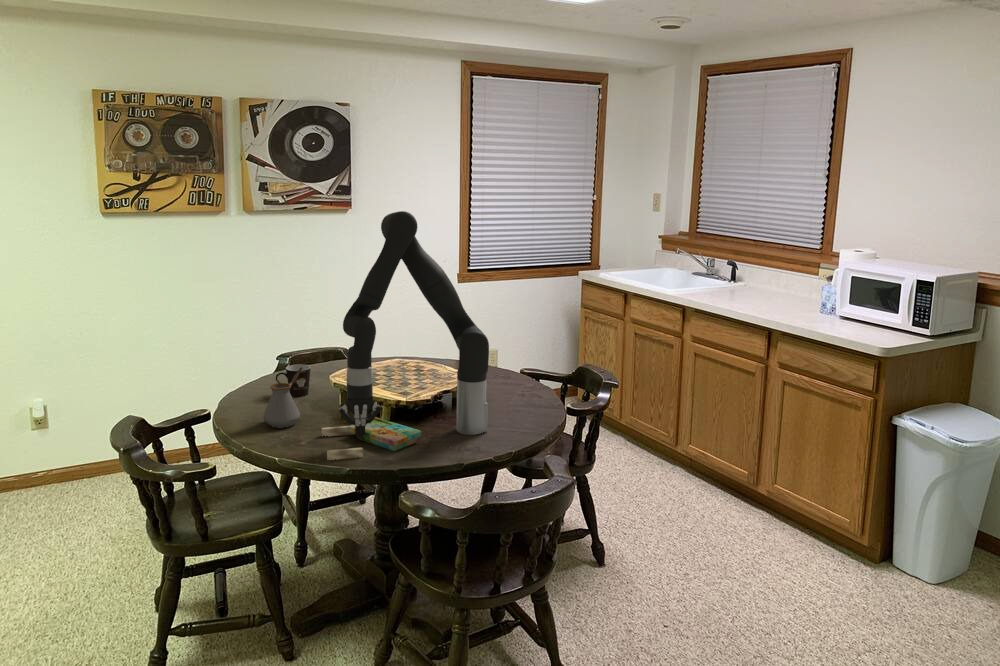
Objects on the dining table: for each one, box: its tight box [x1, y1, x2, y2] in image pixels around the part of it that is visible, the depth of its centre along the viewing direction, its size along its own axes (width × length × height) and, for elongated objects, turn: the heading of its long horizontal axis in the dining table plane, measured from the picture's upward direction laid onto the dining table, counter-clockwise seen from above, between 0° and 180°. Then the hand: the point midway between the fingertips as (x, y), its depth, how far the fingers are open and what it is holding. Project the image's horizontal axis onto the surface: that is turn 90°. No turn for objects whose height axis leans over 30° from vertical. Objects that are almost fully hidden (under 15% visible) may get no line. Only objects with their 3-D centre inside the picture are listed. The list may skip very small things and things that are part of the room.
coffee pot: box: [262, 367, 305, 429], centre depth 250 cm, size 21×12×15 cm, turn 168°
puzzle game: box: [347, 416, 422, 452], centre depth 235 cm, size 12×5×20 cm
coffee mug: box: [275, 364, 312, 398], centre depth 277 cm, size 12×9×10 cm
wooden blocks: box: [321, 425, 364, 461], centre depth 230 cm, size 10×20×2 cm, turn 17°
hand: (360, 436), depth 231 cm, fingers closed
